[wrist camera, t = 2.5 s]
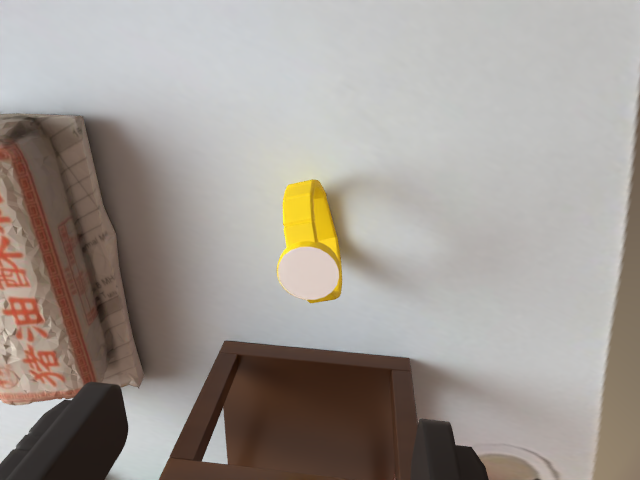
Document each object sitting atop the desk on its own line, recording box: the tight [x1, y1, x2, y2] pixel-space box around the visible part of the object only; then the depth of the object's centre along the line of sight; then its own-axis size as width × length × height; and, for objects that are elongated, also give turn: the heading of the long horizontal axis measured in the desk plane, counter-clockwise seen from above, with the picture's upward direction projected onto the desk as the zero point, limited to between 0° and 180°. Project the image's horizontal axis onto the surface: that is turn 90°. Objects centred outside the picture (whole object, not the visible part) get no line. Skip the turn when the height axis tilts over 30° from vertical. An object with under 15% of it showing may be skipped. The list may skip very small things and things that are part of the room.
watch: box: [277, 180, 342, 303], centre depth 22 cm, size 6×3×6 cm, turn 14°
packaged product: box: [0, 114, 144, 405], centre depth 25 cm, size 18×5×10 cm
